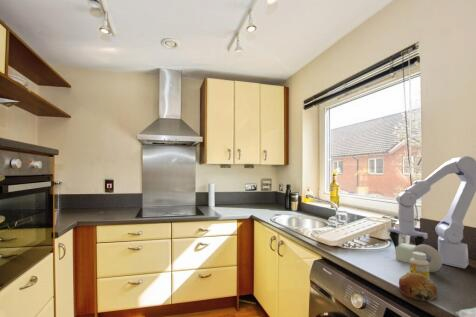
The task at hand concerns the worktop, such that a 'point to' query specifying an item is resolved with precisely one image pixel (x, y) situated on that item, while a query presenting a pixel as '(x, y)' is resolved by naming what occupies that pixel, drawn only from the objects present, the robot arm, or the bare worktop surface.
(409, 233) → the robot arm
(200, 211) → the worktop surface
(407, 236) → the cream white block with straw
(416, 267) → the supplement bottle
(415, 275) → the bread roll
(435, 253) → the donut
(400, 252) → the cream white block
